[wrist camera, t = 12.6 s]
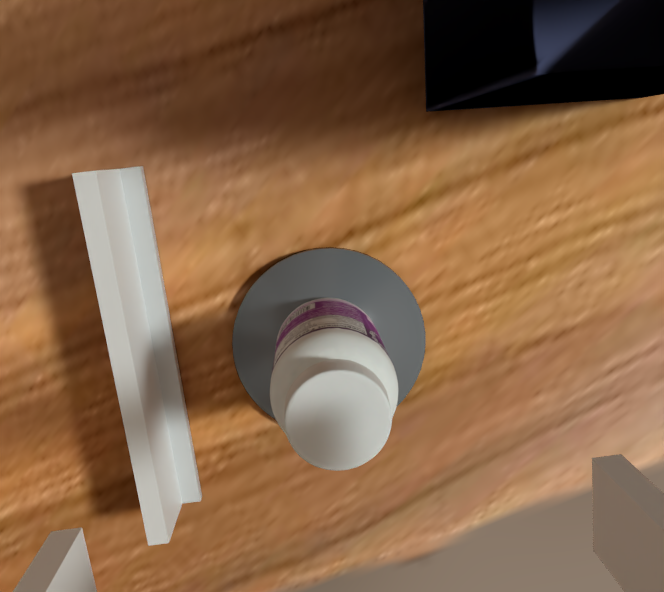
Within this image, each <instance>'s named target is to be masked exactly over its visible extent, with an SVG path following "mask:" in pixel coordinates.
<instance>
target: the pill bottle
mask: <svg viewBox="0 0 664 592" xmlns="http://www.w3.org/2000/svg"><path fill="white" fill-rule="evenodd" d="M270 401H271V407H272V411H273V414H274V416H275V418H276V420H277V422H278V424H279V426H280V427H281V429H282V430H283V431H284V432H285V434H286V435H287V438H288V440H289V442H290V444H291V446H292V447H293V449H294V450H295V451H296V452H297V454H298V455H299V456H300V457H302V458H303V459H304V460H305V461H307V462H308V463H310V464H312V465H314V466H316V467H319V468H323V469H327V470H338V471H339V470H348V469H352V468H355V467H358V466H360V465H362V464H364V463H366V462H367V461H369V460H370V459H372V458H373V457H374V456H376V455H377V453H378V452H379V451H380V450H381V449H382V447H383V446H384V444H385V443H386V441H387V439H388V436H389V433H390V430H391V425H392V417H393V415H394V413H395V410H396V406H397V402H398V381H397V376H396V371H395V368H394V365H393V363H392V361H391V359H390V357H389V355H388V353H387V351H386V349H385V347H384V344H383V342H382V340H381V338H380V335H379V333H378V331H377V329H376V327H375V325H374V324H373V322H372V320H371V319H370V318H369V316H368V315H367V314H366V313H365V312H364V311H363V310H362V309H360V308H359V307H357V306H356V305H354V304H352V303H350V302H348V301H345V300H342V299H338V298H319V299H315V300H312V301H309V302H306V303H304V304H302V305H300V306H299V307H297V308H296V309H295V310H294V311H293V312H291V314H290V315H289V316H288V317H287V318H286V320H285V321H284V322H283V324H282V326H281V328H280V331H279V333H278V336H277V341H276V348H275V357H274V362H273V368H272V375H271V384H270Z"/></svg>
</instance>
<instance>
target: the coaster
mask: <svg viewBox="0 0 664 592" xmlns="http://www.w3.org/2000/svg"><path fill="white" fill-rule="evenodd" d="M319 298H338V299H342V300H345V301H348V302H350V303H352V304H354V305H356V306H357V307H359V308H360V309H362V310H363V311H364V312H365V313H366V314H367V315H368V316H369V318H370V319H371V320H372V322H373V324H374V325H375V327H376V329H377V331H378V333H379V335H380V338H381V340H382V342H383V344H384V347H385V349H386V351H387V353H388V355H389V357H390V359H391V361H392V363H393V365H394V368H395V371H396V376H397V381H398V402H397V406H398V405H399V404H400V403H401V402H402V401H403V399H404V398H405V397H406V395H407V394H408V393H409V391H410V390H411V388H412V387H413V385H414V383H415V381H416V380H417V377H418V375H419V372H420V370H421V367H422V363H423V359H424V353H425V328H424V321H423V318H422V314H421V311H420V308H419V306H418V304H417V302H416V299H415V298H414V296H413V294H412V293H411V291H410V290H409V288H408V287H407V285H406V284H405V283H404V282H403V281H402V279H401V278H400V277H399V276H398V275H397V274H396V273H395V272H394V271H393V270H391V269H390V268H389V267H388V266H386V265H385V264H383V263H382V262H380V261H379V260H377V259H375V258H373V257H371V256H369V255H367V254H364V253H361V252H358V251H355V250H350V249H345V248H334V247H326V248H315V249H310V250H305V251H302V252H299V253H295V254H293V255H291V256H288V257H286V258H284V259H282V260H280V261H279V262H277V263H276V264H274V265H273V266H271V267H270V268H269V269H268V270H266V271H265V272H264V273H263V274H262V275H261V276H260V277H259V278H258V279H257V280H256V281H255V282H254V284H253V285H252V286H251V288H250V289H249V291H248V292H247V294H246V295H245V297H244V299H243V301H242V303H241V305H240V308H239V311H238V314H237V317H236V320H235V324H234V330H233V342H232V346H233V357H234V361H235V366H236V369H237V372H238V375H239V377H240V380H241V382H242V384H243V385H244V387H245V389H246V391H247V392H248V394H249V395H250V396H251V398H252V399H253V400H254V401H255V402H256V403H257V405H258V406H259V407H260V408H261V409H262V410H264V411H265V412H266V413H267V414H269V415H270V416H271V417H273V418H274V419H276V418H275V416H274V414H273V411H272V407H271V401H270V384H271V375H272V368H273V362H274V357H275V348H276V341H277V336H278V333H279V331H280V328H281V326H282V324H283V322H284V321H285V320H286V318H287V317H288V316H289V315H290V314H291V312H293V311H294V310H295V309H296V308H297V307H299V306H300V305H302V304H304V303H306V302H309V301H312V300H315V299H319ZM397 406H396V407H397Z"/></svg>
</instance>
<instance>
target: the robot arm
mask: <svg viewBox="0 0 664 592" xmlns="http://www.w3.org/2000/svg"><path fill="white" fill-rule="evenodd" d="M592 484H593V545H594V546H593V547H594V548H593V549H594V552H595V553H596V555H597V556H598V557H599V559H600V560H601V561H602V563H603V564H604V565H605V567H606V568H607V569H608V571H609V572H610V573H611V574H612V576H613V577H614V578H615V580H616V581H617V582H618V584H619V585H620V586H621V587H622V589H623V590H624V592H664V493H663V492H662V491H661V490H659V489H658V488H657V487H656V486H655V485H654V484H653V483H652V482H651V481H649V479H648V478H646V477H645V476H644V475H643V474H642V473H641V472H640V471H639V470H638V469H637V468H635V467H634V466H633V465H632V464H631V463H630V462H629V461H628V460H627V459H626V458H625V457H623V456H622V455H621V454H619V455H612V456H604V457H597V458H592ZM13 592H97V590H96V586H95V581H94V577H93V573H92V568H91V564H90V560H89V556H88V551H87V547H86V543H85V539H84V534H83V530H82V528H75V529H67V530H60V531H52V532H51V533H50V534H49V536H48V537H47V539H46V541H45V542H44V544H43V545H42V547H41V548H40V550H39V552H38V553H37V555H36V556H35V558H34V559H33V561H32V563H31V564H30V566H29V567H28V569H27V570H26V572H25V574H24V575H23V577H22V578H21V580H20V581H19V583H18V585H17V586H16V588H15V589H14V591H13Z"/></svg>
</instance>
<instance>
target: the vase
mask: <svg viewBox="0 0 664 592" xmlns="http://www.w3.org/2000/svg"><path fill="white" fill-rule="evenodd" d="M423 14H424V49H425V84H426V112H428V111H443V110H459V109H474V108H490V107H506V106H521V105H537V104H552V103H568V102H583V101H599V100H614V99H630V98H643V97H649V96H655V95H661V94H664V0H423Z"/></svg>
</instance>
